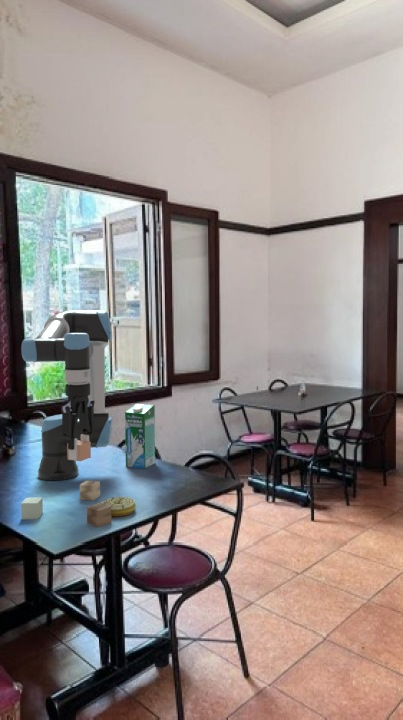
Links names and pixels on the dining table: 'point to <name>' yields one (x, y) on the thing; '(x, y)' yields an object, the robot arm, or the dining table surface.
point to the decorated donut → (120, 505)
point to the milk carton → (140, 436)
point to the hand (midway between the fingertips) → (79, 457)
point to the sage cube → (31, 508)
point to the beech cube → (90, 490)
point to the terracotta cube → (82, 450)
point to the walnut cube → (98, 514)
